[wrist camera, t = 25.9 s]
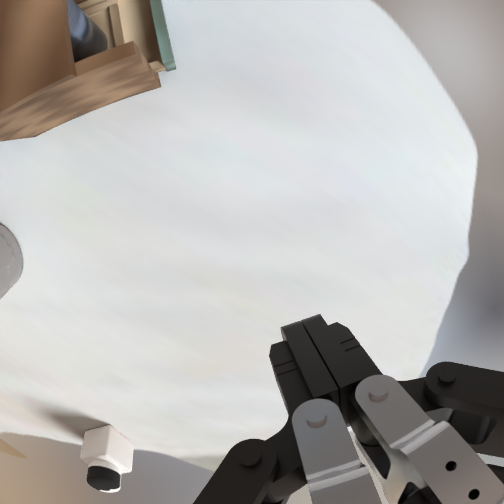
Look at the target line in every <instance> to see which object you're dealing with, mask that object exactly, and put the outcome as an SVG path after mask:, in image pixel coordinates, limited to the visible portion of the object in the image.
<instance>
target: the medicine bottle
mask: <svg viewBox="0 0 504 504" xmlns="http://www.w3.org/2000/svg"><path fill="white" fill-rule="evenodd" d="M133 446H134V443H133V442H131V441H130V440H129V439H128V438H126V437H125V436H124V435H123V434H121V433H120V432H119V431H118V430H116V429H115V428H114V427H113V426H111V425H107V426H103V427H99V428H96V429H92V430H88V431H85V435H84V440H83V445H82V450H81V455H80V459H81V460H82V461H83V462H85V463H86V464H88V465H89V467H88V474H87V482H88V484H90V486H92V487H93V488H95V489H97V490H100V491H103V492H117V491H119V490H120V483H121V474H122V473H128V472H131V471H132V459H133Z"/></svg>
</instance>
